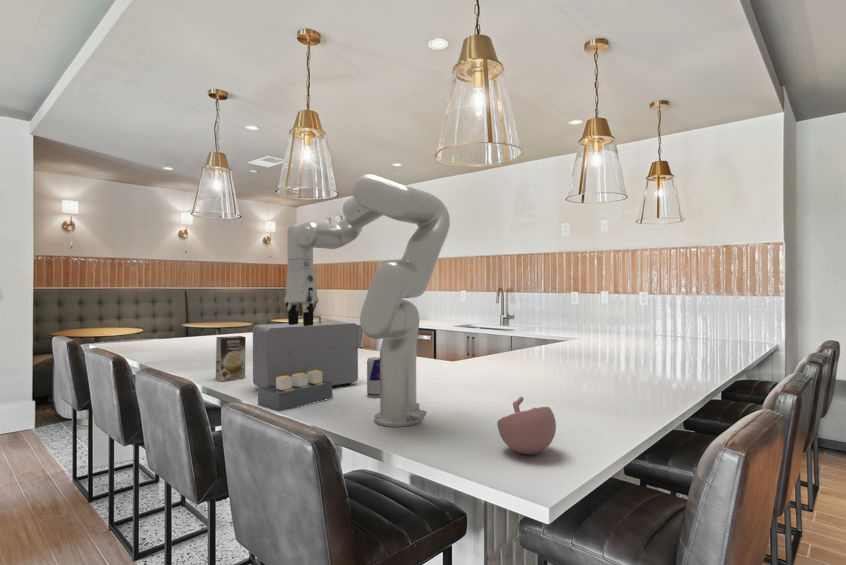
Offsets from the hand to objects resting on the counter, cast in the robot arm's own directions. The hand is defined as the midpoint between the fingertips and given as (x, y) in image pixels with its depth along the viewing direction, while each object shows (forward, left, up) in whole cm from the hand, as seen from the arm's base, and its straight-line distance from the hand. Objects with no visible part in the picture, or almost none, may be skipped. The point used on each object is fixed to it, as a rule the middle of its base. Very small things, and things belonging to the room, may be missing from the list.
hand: (300, 324), depth 141 cm
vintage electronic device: (+18, -14, -24) cm, 33 cm away
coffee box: (+51, -4, -24) cm, 56 cm away
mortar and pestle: (-72, -5, -24) cm, 76 cm away
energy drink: (-11, -20, -24) cm, 33 cm away
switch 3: (+1, -5, -18) cm, 19 cm away
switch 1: (+1, +6, -18) cm, 19 cm away
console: (+3, 0, -24) cm, 24 cm away
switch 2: (+1, 0, -18) cm, 18 cm away
